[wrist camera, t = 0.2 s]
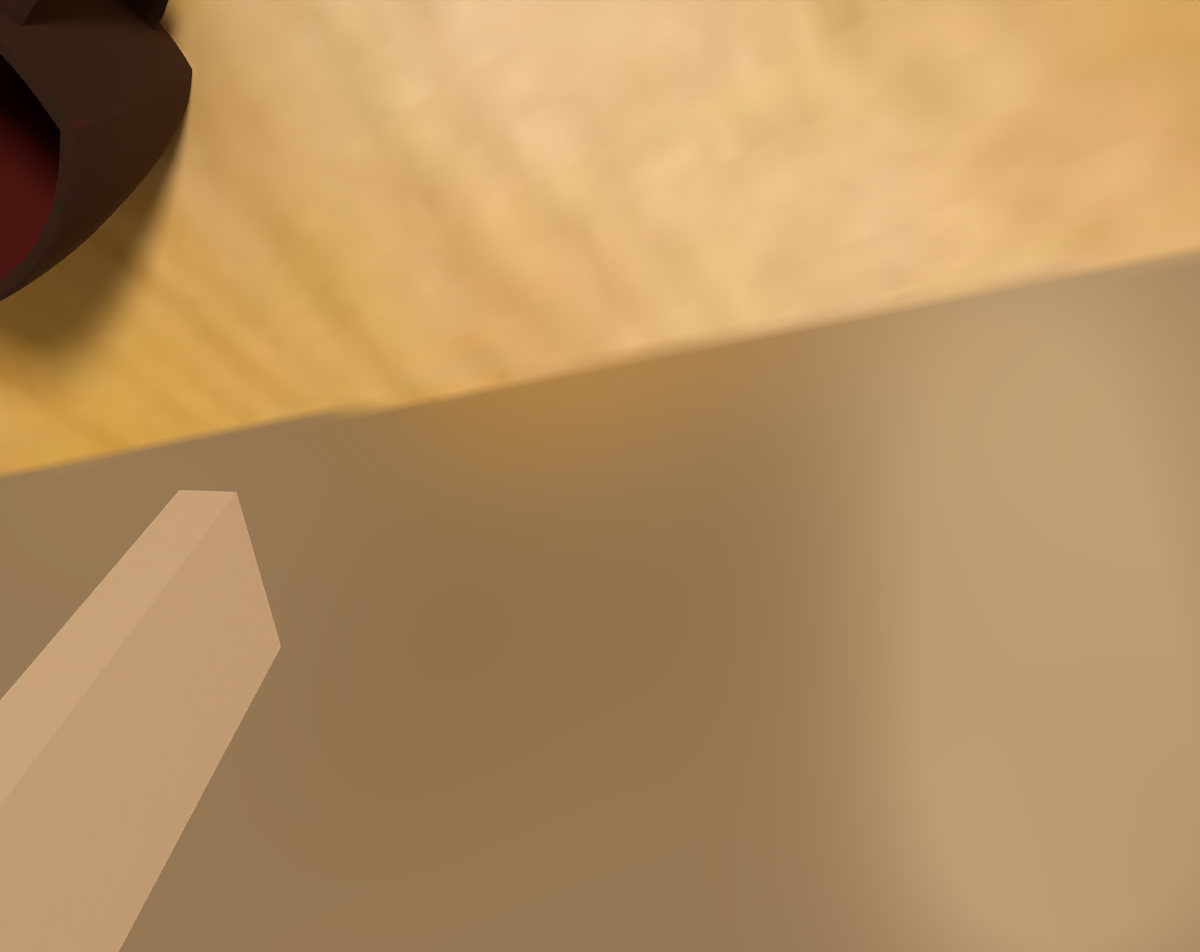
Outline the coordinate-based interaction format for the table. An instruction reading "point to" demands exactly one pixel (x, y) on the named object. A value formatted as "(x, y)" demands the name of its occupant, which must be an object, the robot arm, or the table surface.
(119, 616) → the robot arm
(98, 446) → the table surface
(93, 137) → the cup
